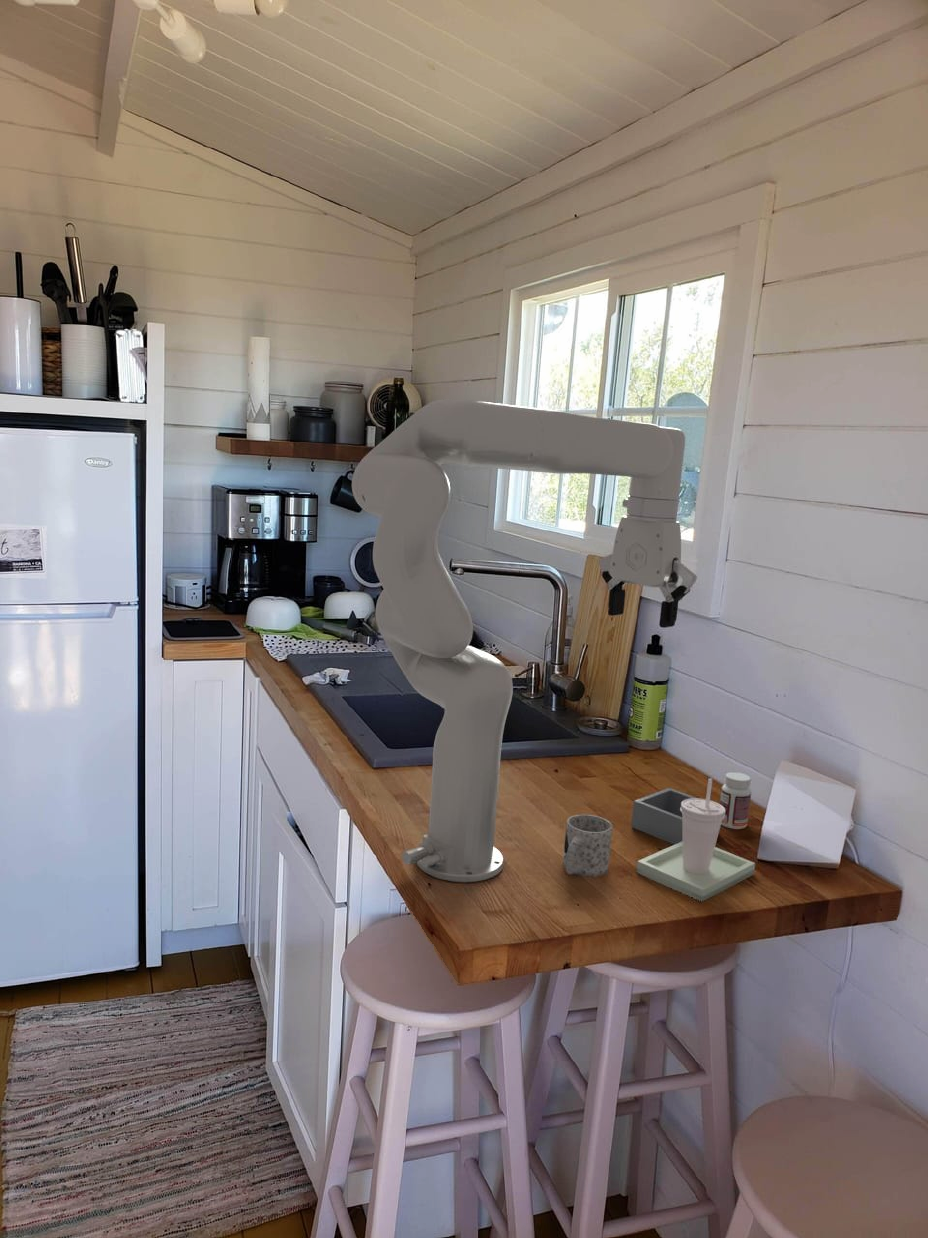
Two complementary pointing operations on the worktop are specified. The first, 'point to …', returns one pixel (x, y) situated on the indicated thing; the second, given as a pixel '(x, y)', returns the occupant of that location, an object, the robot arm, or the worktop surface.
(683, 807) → the smoothie
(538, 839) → the worktop surface
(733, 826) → the pill bottle
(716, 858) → the tray
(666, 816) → the grey square tube frame
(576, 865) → the mug
